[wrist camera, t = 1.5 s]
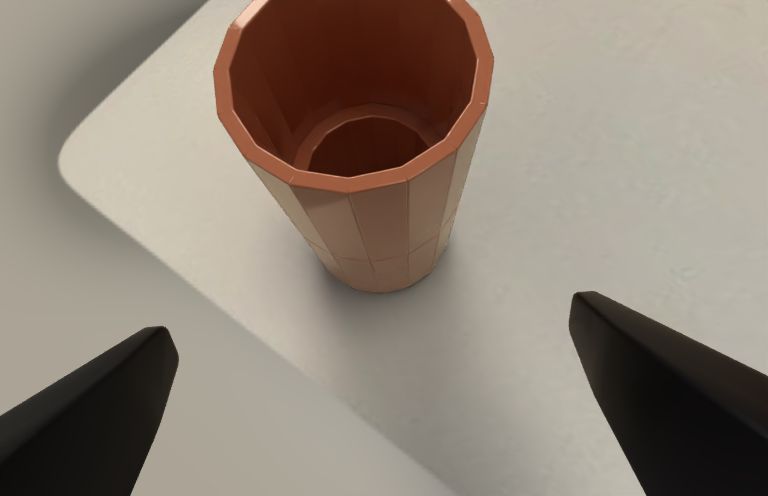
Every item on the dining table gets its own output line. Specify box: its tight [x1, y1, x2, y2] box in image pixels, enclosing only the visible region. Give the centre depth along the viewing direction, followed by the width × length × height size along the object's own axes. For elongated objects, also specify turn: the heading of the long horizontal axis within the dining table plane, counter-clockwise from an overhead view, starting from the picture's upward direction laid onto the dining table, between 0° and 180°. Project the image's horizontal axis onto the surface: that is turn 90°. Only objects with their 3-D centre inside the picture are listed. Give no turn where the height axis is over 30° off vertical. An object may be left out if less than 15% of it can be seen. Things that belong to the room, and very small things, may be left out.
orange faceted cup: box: [213, 0, 494, 293], centre depth 17 cm, size 7×7×13 cm
